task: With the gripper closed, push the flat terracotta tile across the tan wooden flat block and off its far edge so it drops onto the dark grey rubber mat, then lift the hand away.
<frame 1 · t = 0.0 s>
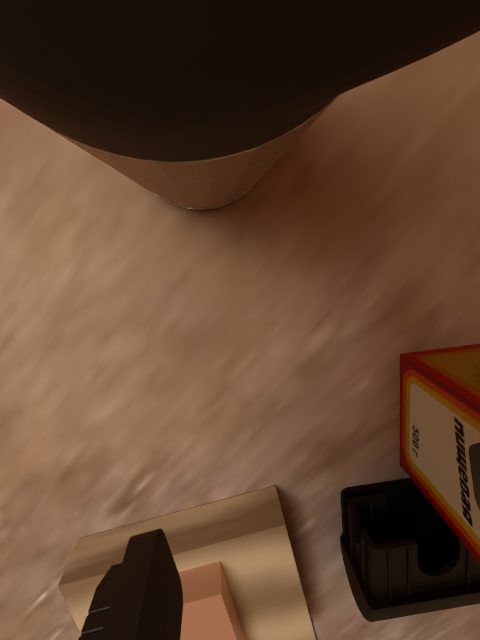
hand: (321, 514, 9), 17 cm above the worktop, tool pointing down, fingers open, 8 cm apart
end cap: (393, 513, 31), on the worktop
tile: (196, 620, 27), point 4 cm above the worktop, touching tan wooden flat block
baking soda box: (439, 405, 29), on the worktop
tan wooden flat block: (198, 570, 30), on the worktop
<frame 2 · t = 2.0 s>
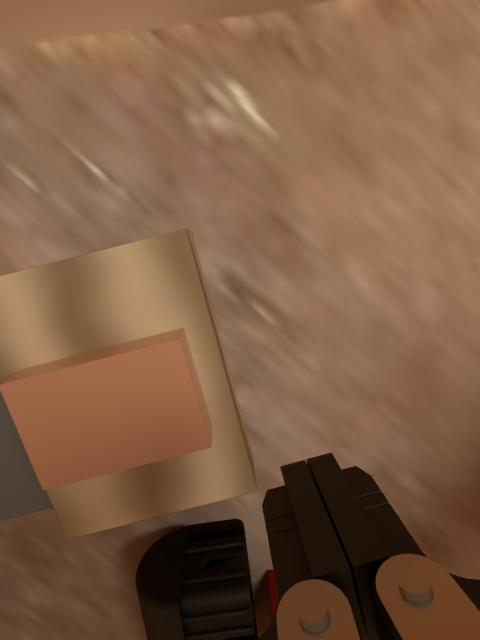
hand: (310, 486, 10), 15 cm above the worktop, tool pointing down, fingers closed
end cap: (203, 570, 29), on the worktop
tile: (121, 397, 21), point 4 cm above the worktop, touching tan wooden flat block
baking soda box: (328, 593, 30), on the worktop
tan wooden flat block: (136, 372, 25), on the worktop
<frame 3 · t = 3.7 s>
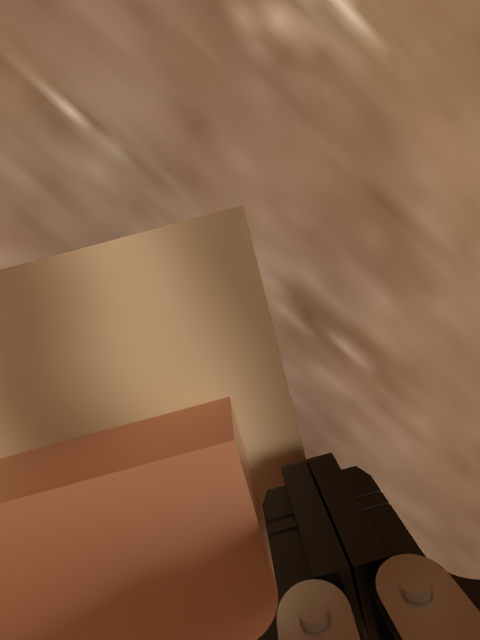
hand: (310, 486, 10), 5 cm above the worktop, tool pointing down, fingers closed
tile: (112, 523, 11), point 4 cm above the worktop, touching tan wooden flat block, gripper
tan wooden flat block: (143, 449, 15), on the worktop
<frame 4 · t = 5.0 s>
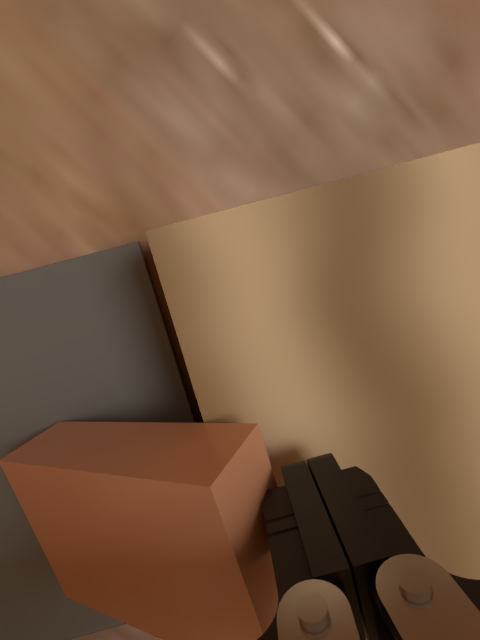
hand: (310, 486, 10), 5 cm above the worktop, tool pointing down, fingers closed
tile: (169, 498, 13), point 3 cm above the worktop, tilted 32°, touching gripper
tan wooden flat block: (361, 388, 15), on the worktop
mat: (58, 470, 15), on the worktop
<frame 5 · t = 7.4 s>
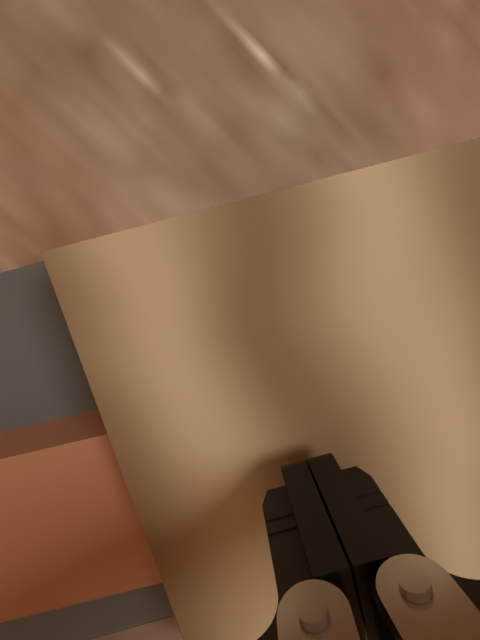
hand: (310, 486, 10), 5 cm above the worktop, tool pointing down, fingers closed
tile: (45, 494, 15), resting on mat
tan wooden flat block: (300, 405, 15), on the worktop
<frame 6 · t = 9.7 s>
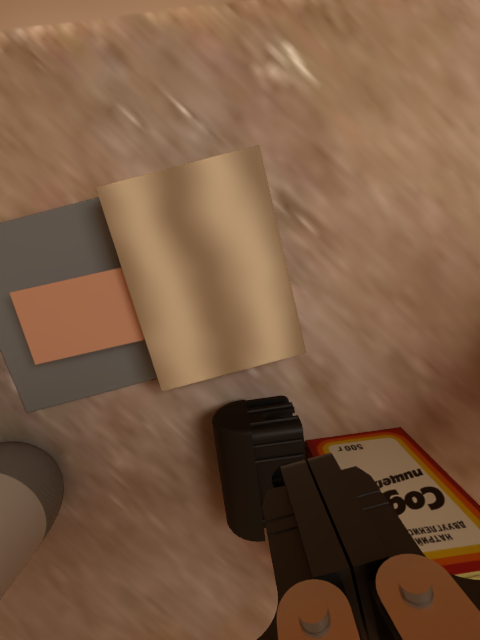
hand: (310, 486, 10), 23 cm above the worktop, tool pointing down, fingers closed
end cap: (255, 441, 36), on the worktop
tile: (88, 311, 31), resting on mat
baking soda box: (354, 462, 37), on the worktop
smart speaker: (22, 475, 35), on the worktop
tan wooden flat block: (208, 271, 32), on the worktop
mat: (62, 310, 32), on the worktop
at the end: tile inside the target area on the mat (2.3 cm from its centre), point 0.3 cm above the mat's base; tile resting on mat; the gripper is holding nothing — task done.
